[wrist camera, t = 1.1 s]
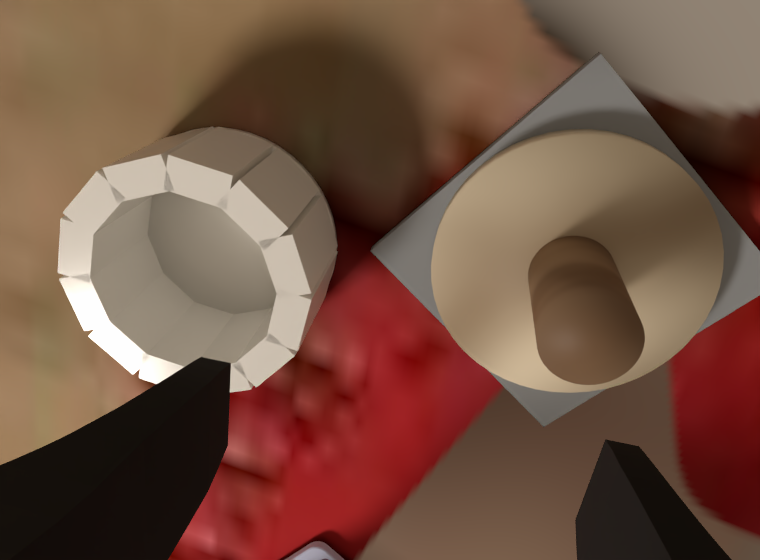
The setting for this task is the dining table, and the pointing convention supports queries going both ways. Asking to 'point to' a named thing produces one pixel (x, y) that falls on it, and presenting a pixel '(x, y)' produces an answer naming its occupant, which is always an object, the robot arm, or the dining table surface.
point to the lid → (576, 261)
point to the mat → (555, 113)
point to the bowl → (199, 255)
